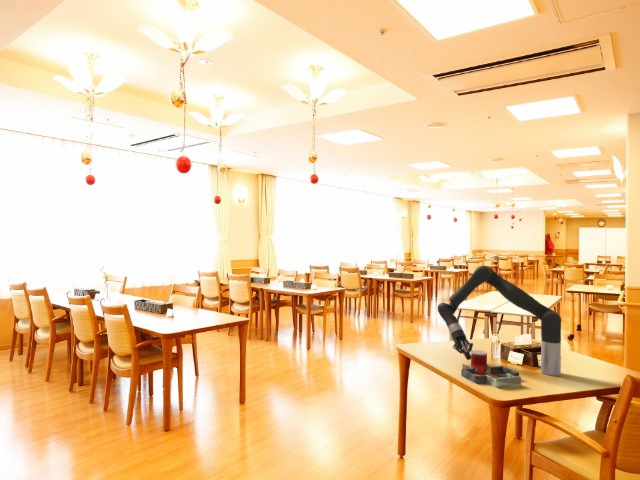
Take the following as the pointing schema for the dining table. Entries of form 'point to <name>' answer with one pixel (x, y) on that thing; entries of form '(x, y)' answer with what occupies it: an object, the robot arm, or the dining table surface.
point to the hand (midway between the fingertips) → (469, 359)
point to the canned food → (479, 362)
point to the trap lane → (506, 377)
